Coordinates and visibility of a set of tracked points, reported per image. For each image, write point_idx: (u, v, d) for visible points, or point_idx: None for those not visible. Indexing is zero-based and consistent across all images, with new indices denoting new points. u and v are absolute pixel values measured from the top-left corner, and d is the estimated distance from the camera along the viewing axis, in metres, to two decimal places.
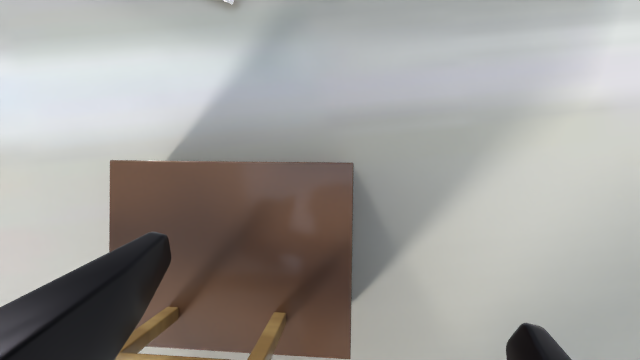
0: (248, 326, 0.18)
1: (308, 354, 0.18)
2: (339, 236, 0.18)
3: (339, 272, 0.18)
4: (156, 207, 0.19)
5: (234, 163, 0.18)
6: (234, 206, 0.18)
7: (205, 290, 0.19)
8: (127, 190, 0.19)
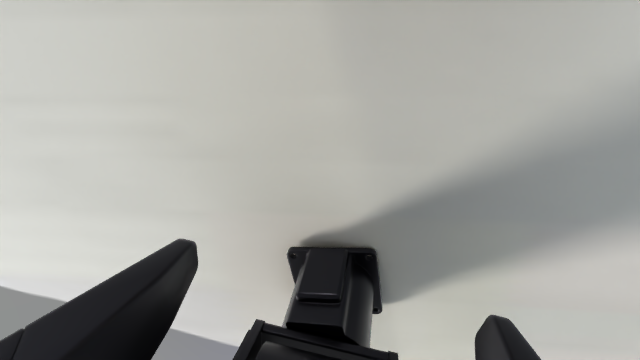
0: None
1: None
2: None
3: None
4: None
5: None
6: None
7: None
8: None
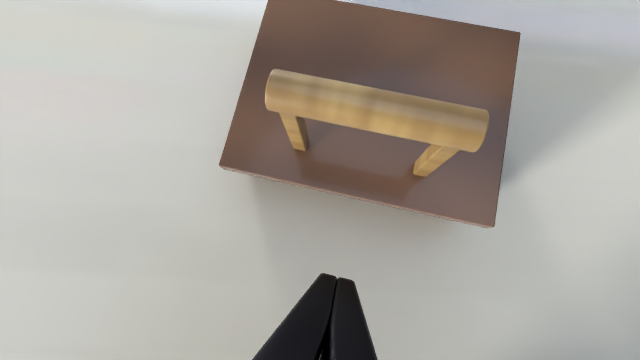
0: (383, 172, 0.17)
1: (446, 213, 0.16)
2: (497, 97, 0.17)
3: (493, 132, 0.17)
4: (308, 38, 0.18)
5: (399, 12, 0.18)
6: (391, 51, 0.18)
7: (342, 126, 0.17)
8: (282, 18, 0.19)
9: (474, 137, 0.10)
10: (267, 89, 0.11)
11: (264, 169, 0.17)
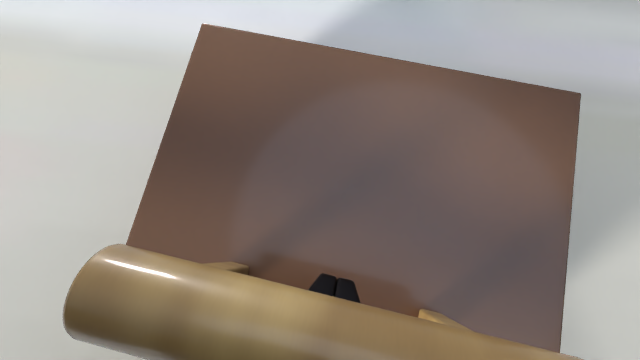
0: None
1: None
2: (550, 200, 0.11)
3: (546, 260, 0.10)
4: (254, 100, 0.12)
5: (393, 60, 0.12)
6: (381, 121, 0.12)
7: (302, 246, 0.11)
8: (216, 67, 0.12)
9: None
10: (65, 318, 0.04)
11: None
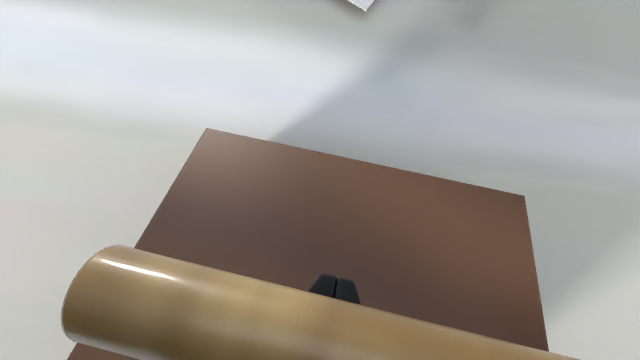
0: None
1: None
2: (519, 284, 0.11)
3: (527, 344, 0.10)
4: (246, 188, 0.13)
5: (368, 163, 0.14)
6: (360, 210, 0.13)
7: None
8: (214, 161, 0.14)
9: None
10: (68, 298, 0.04)
11: None
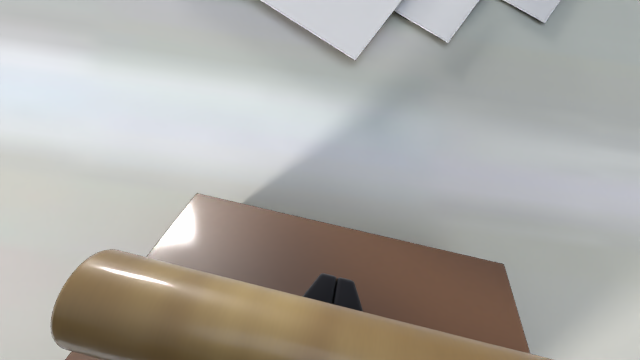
0: None
1: None
2: None
3: None
4: (232, 249, 0.13)
5: (353, 230, 0.15)
6: (346, 273, 0.13)
7: None
8: (201, 223, 0.14)
9: None
10: (65, 288, 0.04)
11: None
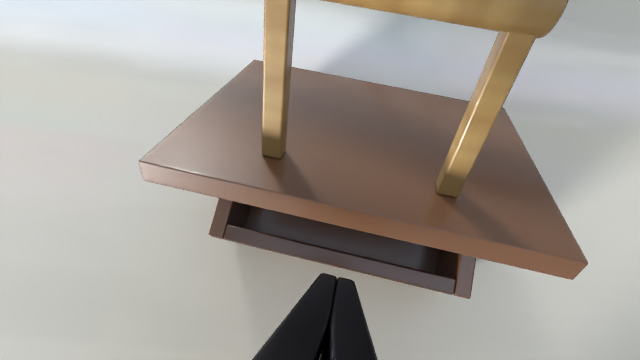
0: (394, 188, 0.11)
1: (506, 241, 0.10)
2: (509, 142, 0.15)
3: (521, 167, 0.13)
4: (290, 86, 0.17)
5: None
6: (380, 102, 0.16)
7: (330, 144, 0.13)
8: (262, 73, 0.17)
9: None
10: None
11: (212, 171, 0.11)
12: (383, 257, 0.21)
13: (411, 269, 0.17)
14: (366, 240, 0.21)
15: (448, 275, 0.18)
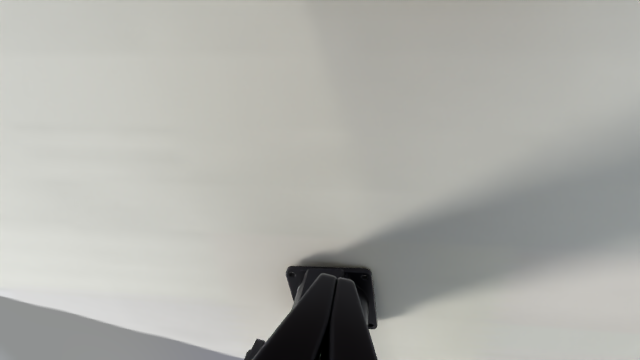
0: None
1: None
2: None
3: None
4: None
5: None
6: None
7: None
8: None
9: None
10: None
11: None
12: None
13: None
14: None
15: None
